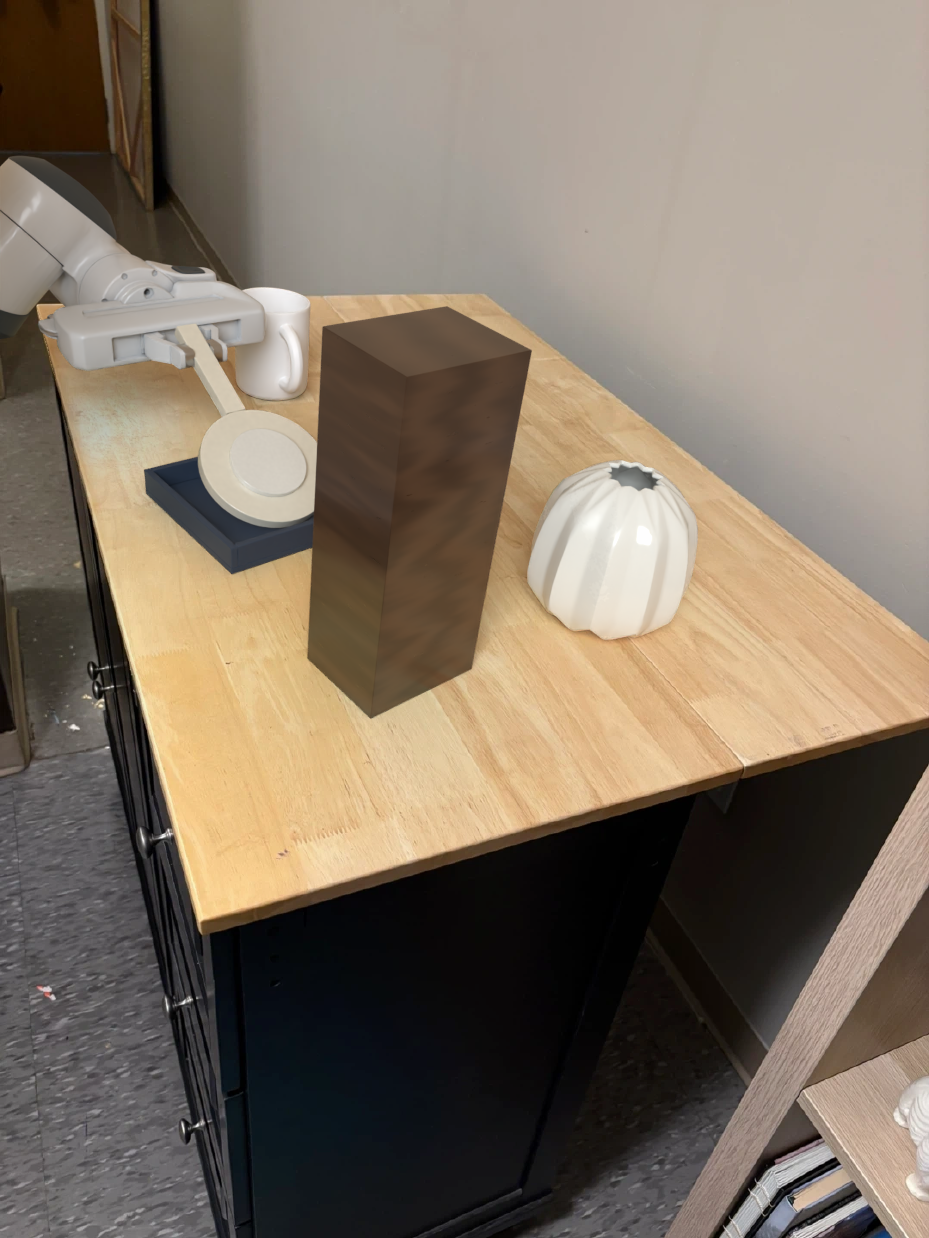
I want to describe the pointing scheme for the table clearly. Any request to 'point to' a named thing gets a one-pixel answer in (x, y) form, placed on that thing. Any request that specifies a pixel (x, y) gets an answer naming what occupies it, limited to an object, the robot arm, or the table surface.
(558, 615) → the vase
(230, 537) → the tray
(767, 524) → the table surface
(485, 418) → the stand
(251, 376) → the mug
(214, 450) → the beige frying pan
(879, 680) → the table surface
